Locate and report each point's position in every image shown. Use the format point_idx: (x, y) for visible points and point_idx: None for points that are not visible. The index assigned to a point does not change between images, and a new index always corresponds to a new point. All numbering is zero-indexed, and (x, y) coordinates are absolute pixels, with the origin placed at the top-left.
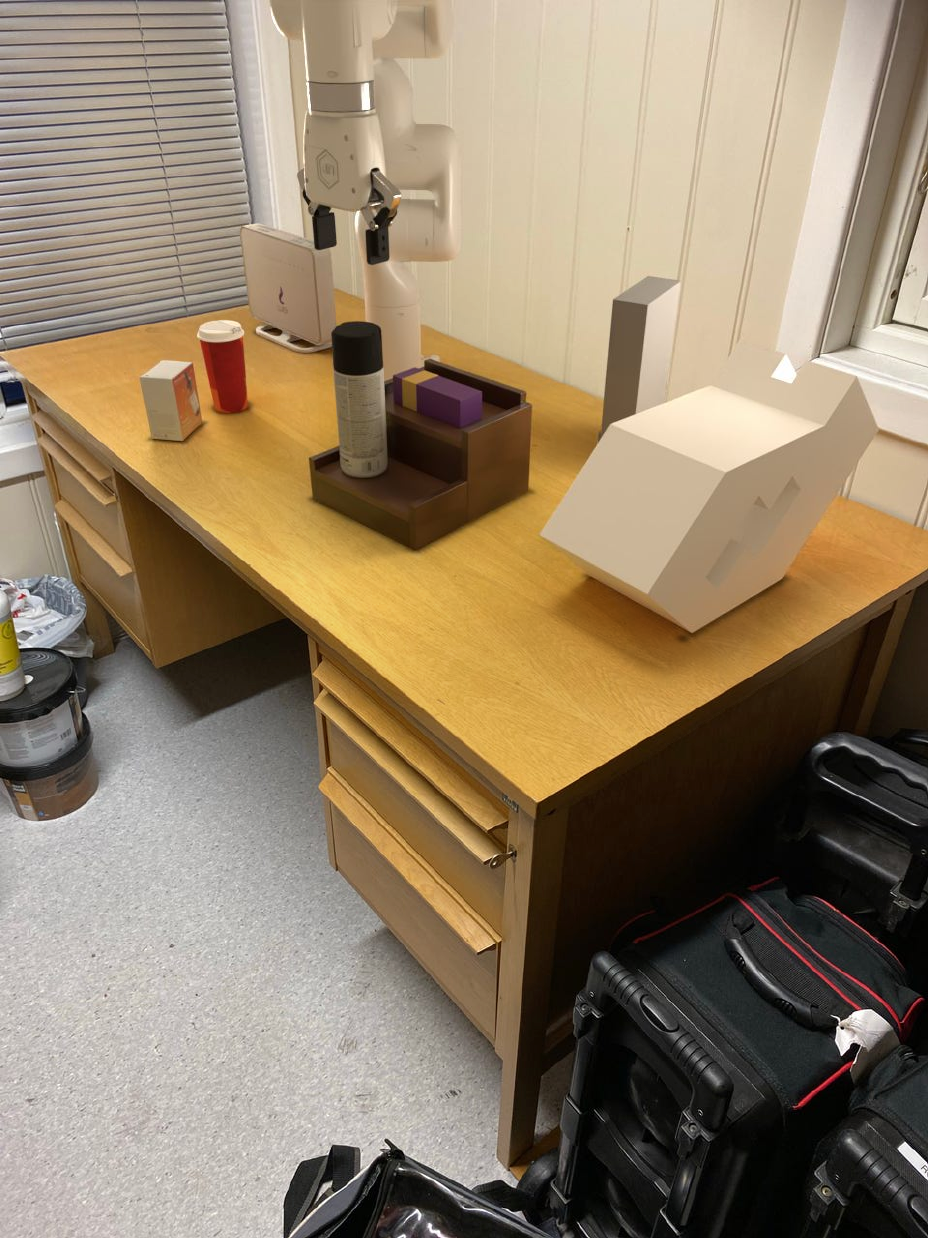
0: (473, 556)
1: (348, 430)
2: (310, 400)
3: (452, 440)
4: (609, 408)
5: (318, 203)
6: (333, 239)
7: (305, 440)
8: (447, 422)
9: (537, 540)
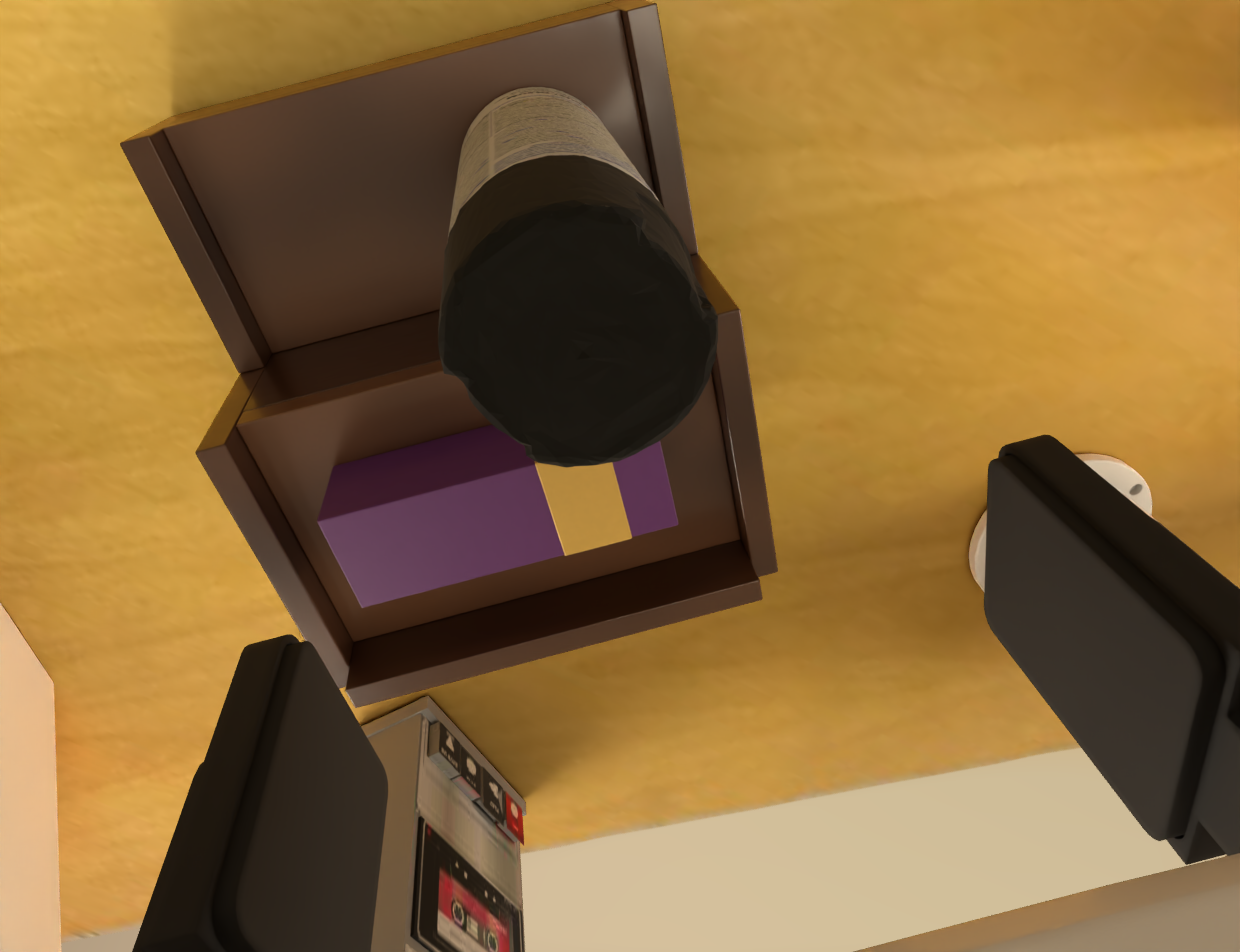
0: (84, 243)
1: (498, 122)
2: (1170, 311)
3: (275, 409)
4: (399, 815)
5: (1179, 870)
6: (1015, 632)
7: (976, 175)
8: (387, 452)
9: (114, 423)
